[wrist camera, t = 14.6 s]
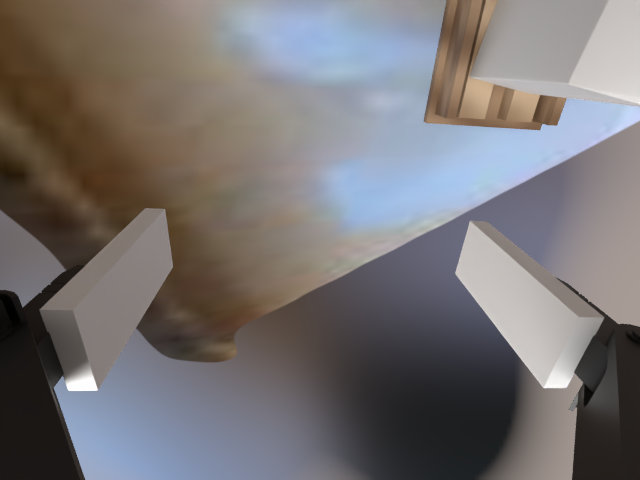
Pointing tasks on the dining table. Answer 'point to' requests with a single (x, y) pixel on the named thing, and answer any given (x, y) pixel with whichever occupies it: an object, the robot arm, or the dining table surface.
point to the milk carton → (564, 49)
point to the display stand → (475, 95)
